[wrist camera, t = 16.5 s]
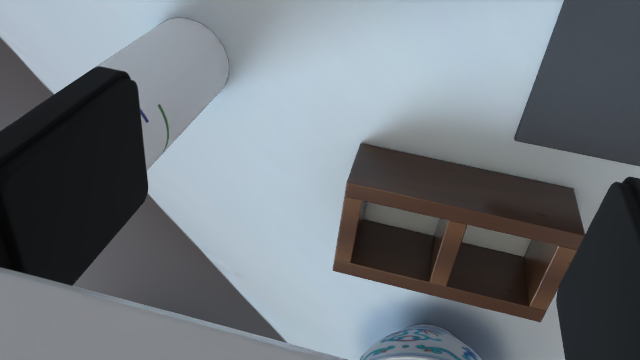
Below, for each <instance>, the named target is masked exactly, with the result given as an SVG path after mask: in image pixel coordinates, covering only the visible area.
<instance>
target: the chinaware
mask: <svg viewBox="0 0 640 360" xmlns="http://www.w3.org/2000/svg"><path fill="white" fill-rule="evenodd" d="M360 360H482V359H481V358H480V357H479V356H478V355H477V354H476V353H475V352H474V351H473V350H472V349H471V348H470V347H468V346H467V345H466V344H464V343H463V342H461V341H460V340H458V339H457V338H456V337H455V336H454V335H453V334H451V333H450V332H448V331H447V330H445V329H443V328H440V327H437V326H433V325H425V324H421V325H414V326H410V327H408V328H406V329H404V330H403V331H399V332H396V333H393V334H390V335H388V336H386V337H384V338H383V339H381V340H379V341H378V342H376V343H375V344H374V345H373V346H371V347H370V348H369V349H368V350H367V351H366V352H365V353H364V355H363V356H362V357H361V358H360Z"/></svg>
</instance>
